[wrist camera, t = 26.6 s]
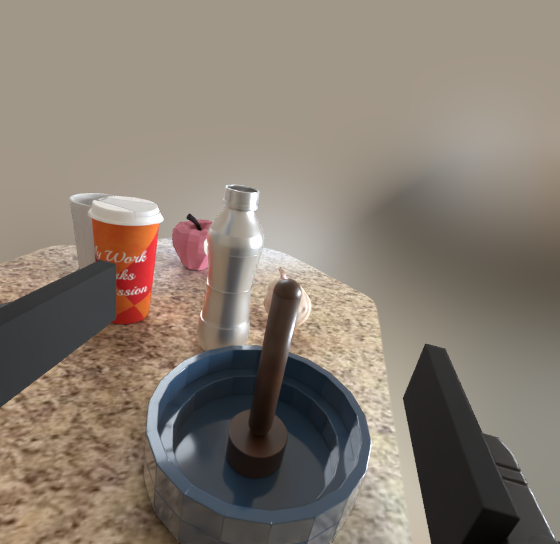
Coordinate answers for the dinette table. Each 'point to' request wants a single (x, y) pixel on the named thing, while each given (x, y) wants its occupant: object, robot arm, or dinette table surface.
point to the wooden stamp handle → (266, 393)
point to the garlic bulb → (303, 307)
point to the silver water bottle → (231, 270)
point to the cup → (84, 226)
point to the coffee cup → (127, 250)
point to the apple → (192, 242)
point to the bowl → (235, 487)
